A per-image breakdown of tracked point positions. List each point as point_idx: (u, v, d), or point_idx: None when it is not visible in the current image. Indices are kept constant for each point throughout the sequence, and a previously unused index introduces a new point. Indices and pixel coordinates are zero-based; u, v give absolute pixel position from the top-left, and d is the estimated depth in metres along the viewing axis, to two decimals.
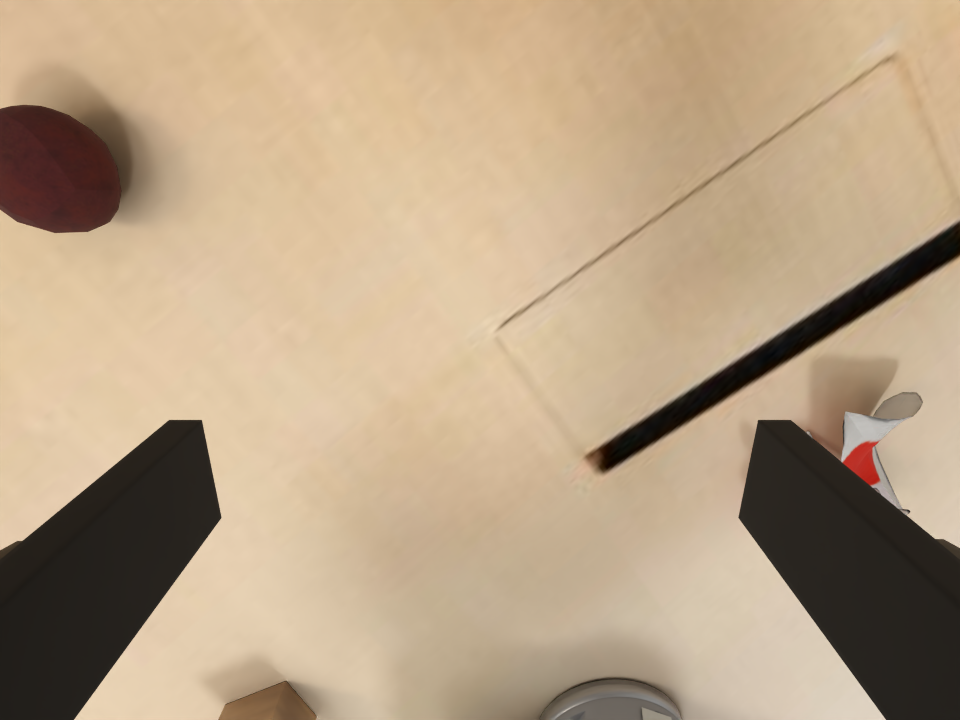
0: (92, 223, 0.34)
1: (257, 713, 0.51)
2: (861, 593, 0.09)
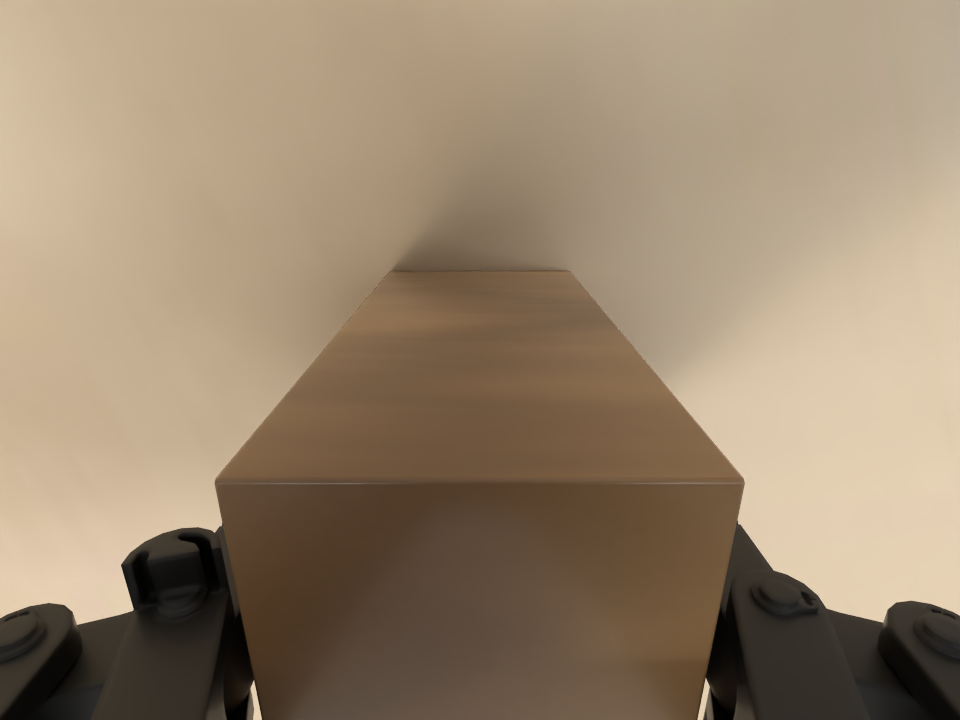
0: None
1: None
2: None
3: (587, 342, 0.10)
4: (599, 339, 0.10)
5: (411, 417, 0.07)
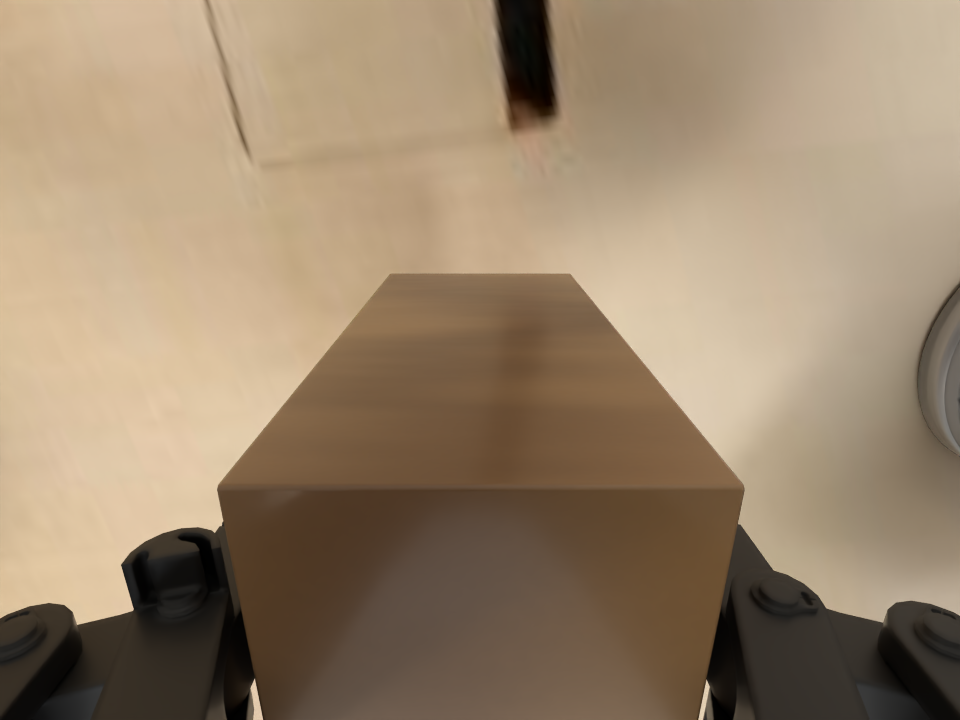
0: None
1: None
2: None
3: (587, 347, 0.10)
4: (599, 343, 0.10)
5: (412, 423, 0.07)
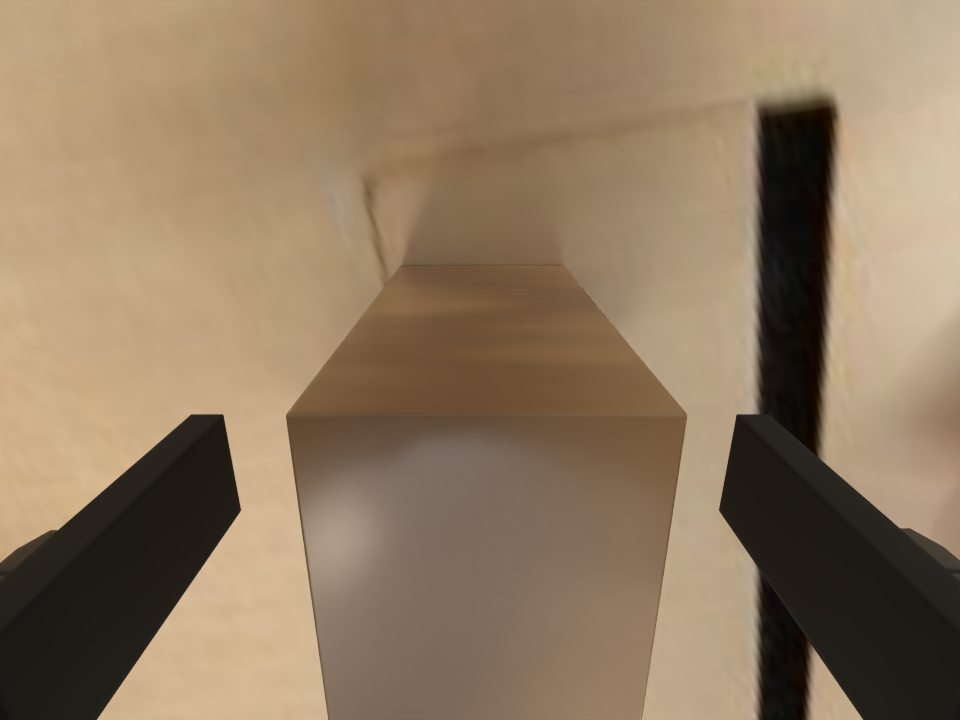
0: None
1: None
2: (829, 580, 0.09)
3: (574, 323, 0.12)
4: (584, 320, 0.12)
5: (430, 374, 0.09)
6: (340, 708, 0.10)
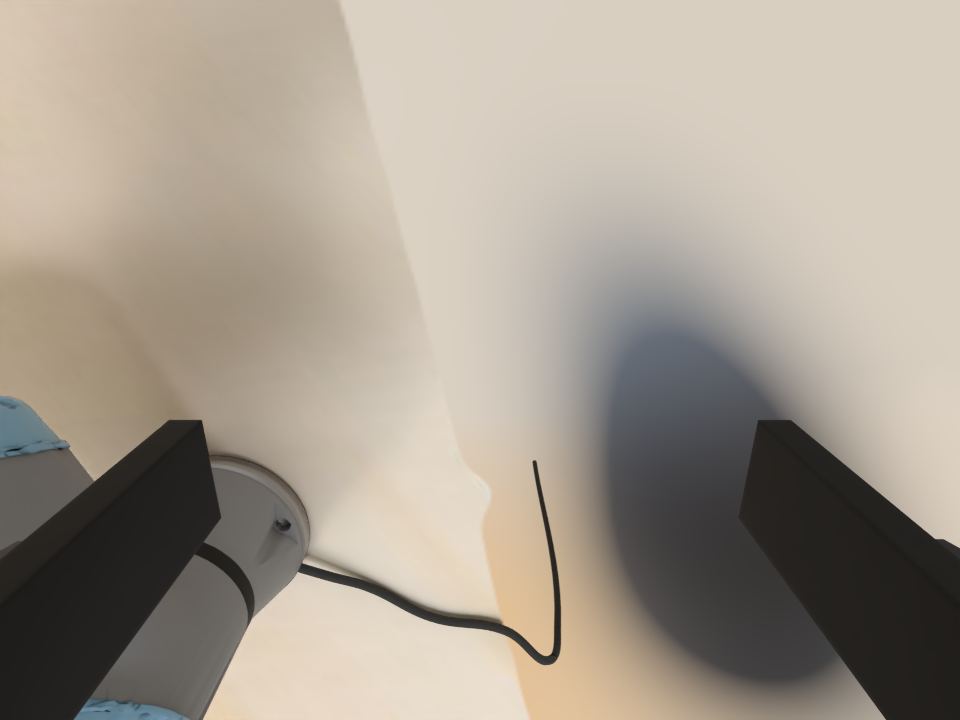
0: None
1: None
2: (861, 593, 0.09)
3: None
4: None
5: None
6: None
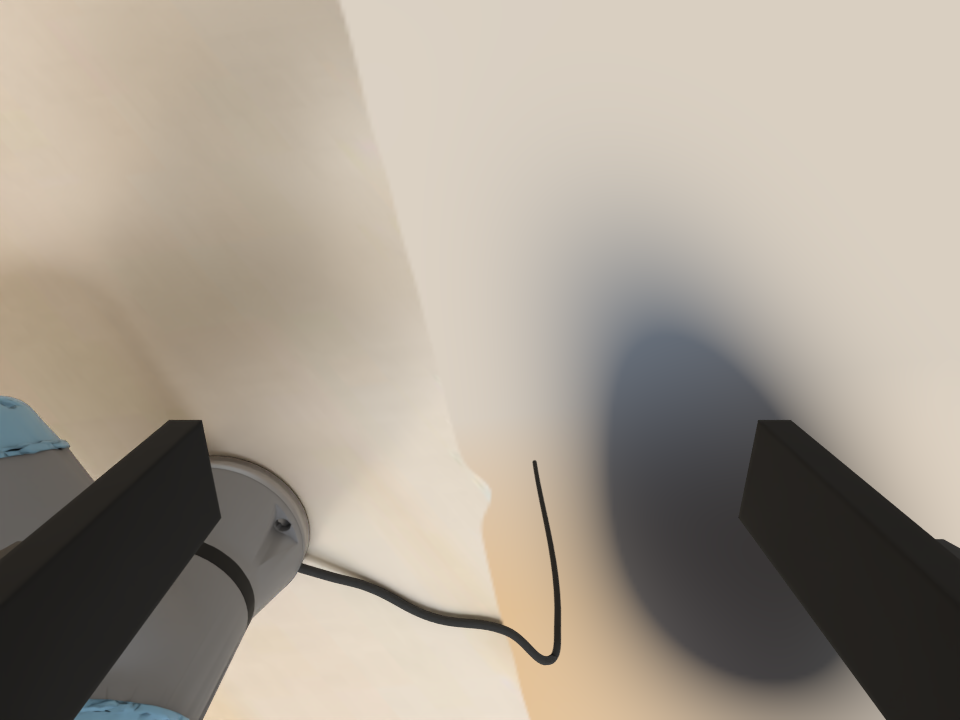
0: None
1: None
2: (861, 593, 0.09)
3: None
4: None
5: None
6: None
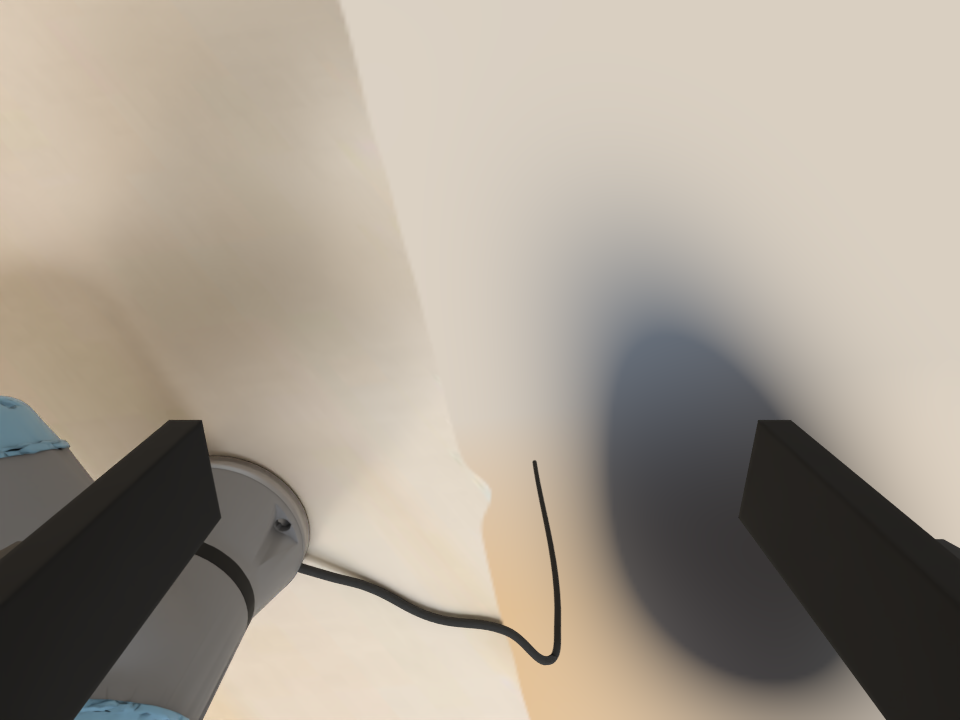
0: None
1: None
2: (861, 593, 0.09)
3: None
4: None
5: None
6: None
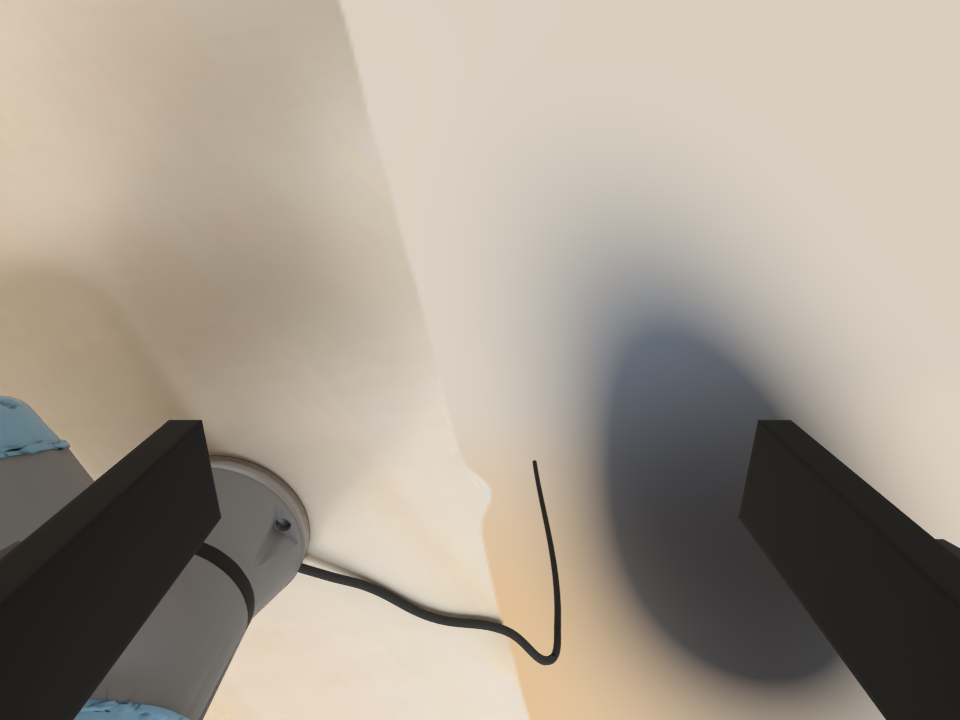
0: None
1: None
2: (861, 593, 0.09)
3: None
4: None
5: None
6: None
